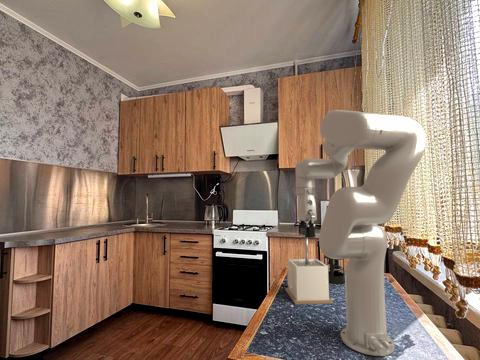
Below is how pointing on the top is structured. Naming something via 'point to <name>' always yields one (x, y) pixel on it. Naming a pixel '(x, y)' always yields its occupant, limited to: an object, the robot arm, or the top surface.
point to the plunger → (306, 253)
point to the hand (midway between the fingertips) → (306, 235)
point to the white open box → (308, 283)
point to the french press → (335, 271)
